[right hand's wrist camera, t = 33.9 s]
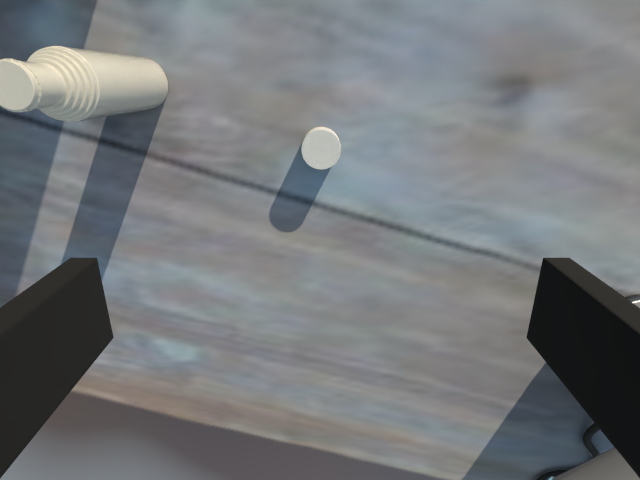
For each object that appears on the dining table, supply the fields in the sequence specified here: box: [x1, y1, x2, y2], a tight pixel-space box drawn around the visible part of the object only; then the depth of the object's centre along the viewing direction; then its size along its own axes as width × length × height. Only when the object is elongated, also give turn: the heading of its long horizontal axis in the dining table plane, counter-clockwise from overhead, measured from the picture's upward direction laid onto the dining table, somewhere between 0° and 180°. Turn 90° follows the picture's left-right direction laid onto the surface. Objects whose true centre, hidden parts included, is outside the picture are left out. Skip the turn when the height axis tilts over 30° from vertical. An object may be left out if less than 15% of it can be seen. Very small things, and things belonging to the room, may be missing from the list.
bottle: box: [0, 46, 168, 122], centre depth 31 cm, size 5×5×18 cm
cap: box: [301, 127, 341, 170], centre depth 40 cm, size 4×4×2 cm
